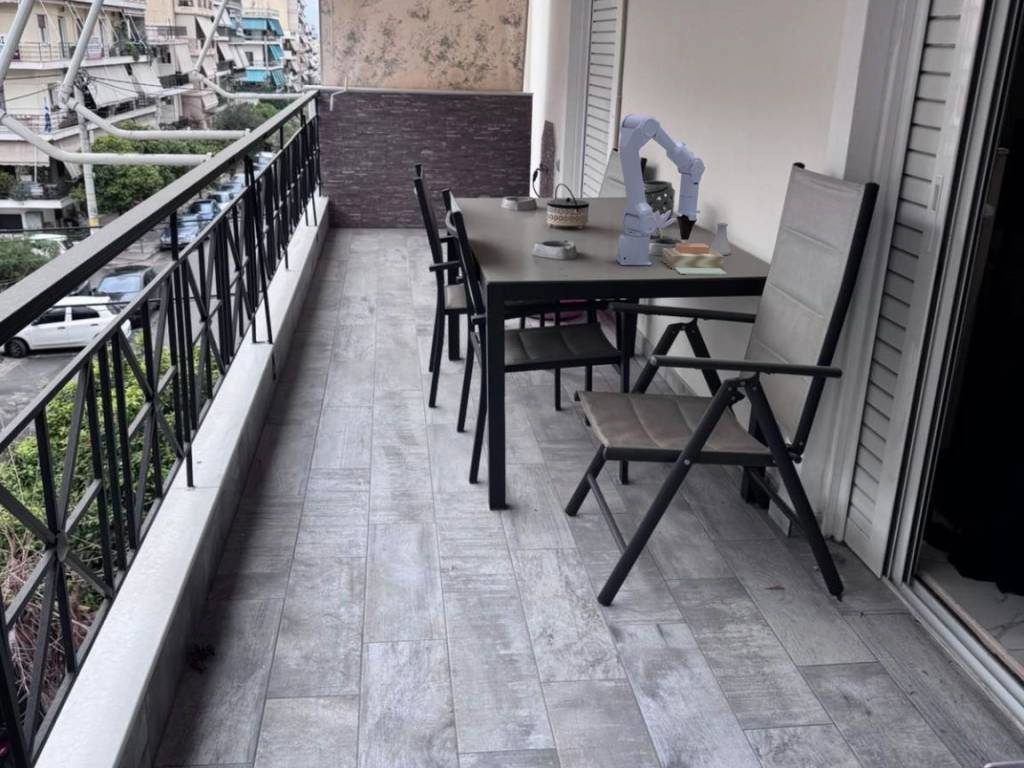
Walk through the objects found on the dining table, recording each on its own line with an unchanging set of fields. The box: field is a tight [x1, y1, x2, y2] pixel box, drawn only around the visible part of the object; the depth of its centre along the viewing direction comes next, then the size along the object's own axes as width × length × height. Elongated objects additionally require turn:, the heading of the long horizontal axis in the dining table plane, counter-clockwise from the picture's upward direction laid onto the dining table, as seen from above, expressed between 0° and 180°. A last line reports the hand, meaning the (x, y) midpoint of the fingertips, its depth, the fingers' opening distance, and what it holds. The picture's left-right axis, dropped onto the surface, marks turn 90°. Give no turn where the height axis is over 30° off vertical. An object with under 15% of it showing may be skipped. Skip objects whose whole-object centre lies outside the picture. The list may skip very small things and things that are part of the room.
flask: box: [709, 222, 732, 256], centre depth 299 cm, size 7×7×10 cm
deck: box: [661, 247, 725, 271], centre depth 282 cm, size 16×12×4 cm
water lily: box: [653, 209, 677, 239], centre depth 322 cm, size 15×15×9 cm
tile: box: [675, 242, 710, 254], centre depth 282 cm, size 9×6×2 cm, turn 94°
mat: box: [673, 267, 728, 276], centre depth 274 cm, size 14×8×1 cm, turn 94°
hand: (684, 239), depth 291 cm, fingers closed
